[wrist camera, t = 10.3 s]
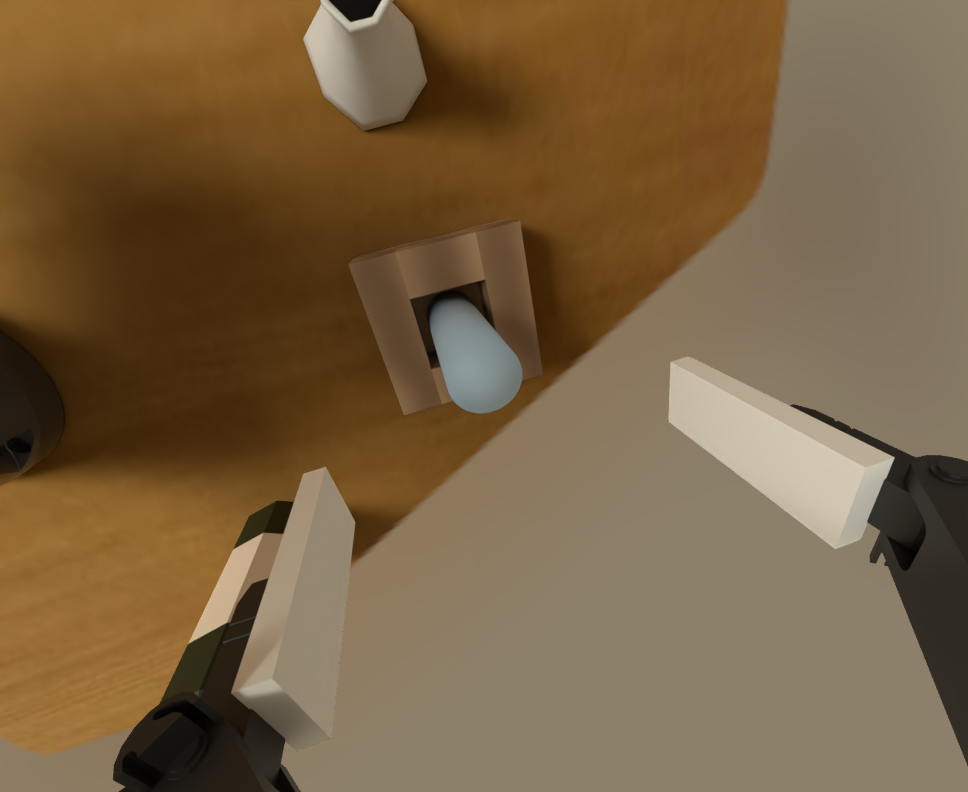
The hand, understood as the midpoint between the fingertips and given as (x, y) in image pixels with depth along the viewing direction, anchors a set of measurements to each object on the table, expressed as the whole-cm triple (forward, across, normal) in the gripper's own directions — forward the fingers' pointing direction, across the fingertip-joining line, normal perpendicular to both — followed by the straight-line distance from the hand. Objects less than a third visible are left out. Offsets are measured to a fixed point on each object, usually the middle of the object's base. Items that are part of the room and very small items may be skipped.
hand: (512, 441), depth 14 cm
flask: (+21, 0, +17) cm, 27 cm away
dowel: (+20, 0, 0) cm, 20 cm away
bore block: (+21, 0, 0) cm, 21 cm away
